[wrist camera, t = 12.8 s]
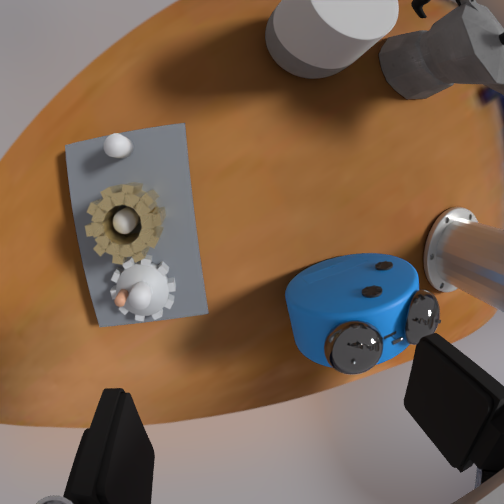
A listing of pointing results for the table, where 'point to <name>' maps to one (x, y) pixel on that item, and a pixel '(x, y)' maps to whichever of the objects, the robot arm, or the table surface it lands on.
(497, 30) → the coffeepot
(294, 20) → the smart speaker
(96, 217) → the brass gear
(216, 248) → the table surface
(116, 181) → the gear board
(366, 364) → the alarm clock
